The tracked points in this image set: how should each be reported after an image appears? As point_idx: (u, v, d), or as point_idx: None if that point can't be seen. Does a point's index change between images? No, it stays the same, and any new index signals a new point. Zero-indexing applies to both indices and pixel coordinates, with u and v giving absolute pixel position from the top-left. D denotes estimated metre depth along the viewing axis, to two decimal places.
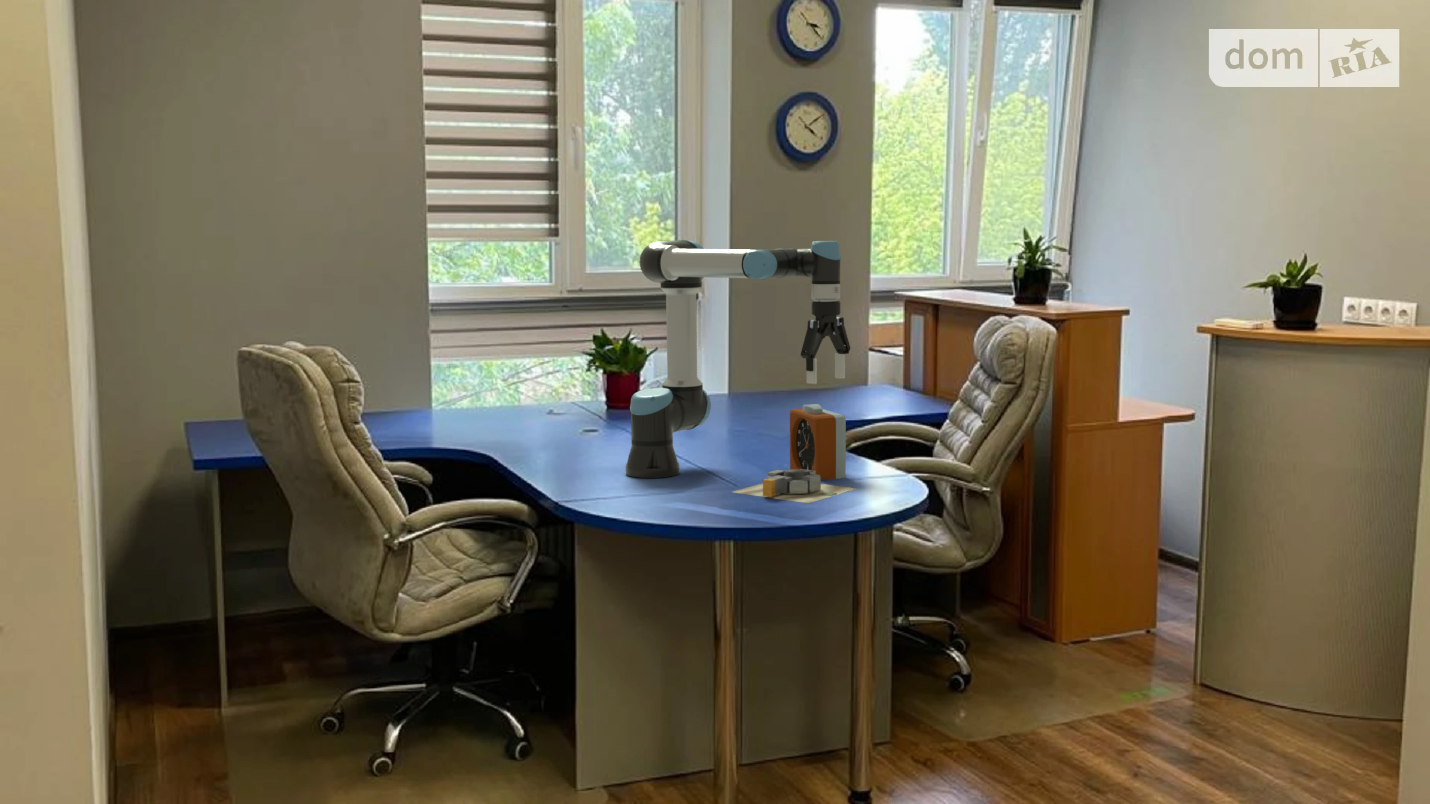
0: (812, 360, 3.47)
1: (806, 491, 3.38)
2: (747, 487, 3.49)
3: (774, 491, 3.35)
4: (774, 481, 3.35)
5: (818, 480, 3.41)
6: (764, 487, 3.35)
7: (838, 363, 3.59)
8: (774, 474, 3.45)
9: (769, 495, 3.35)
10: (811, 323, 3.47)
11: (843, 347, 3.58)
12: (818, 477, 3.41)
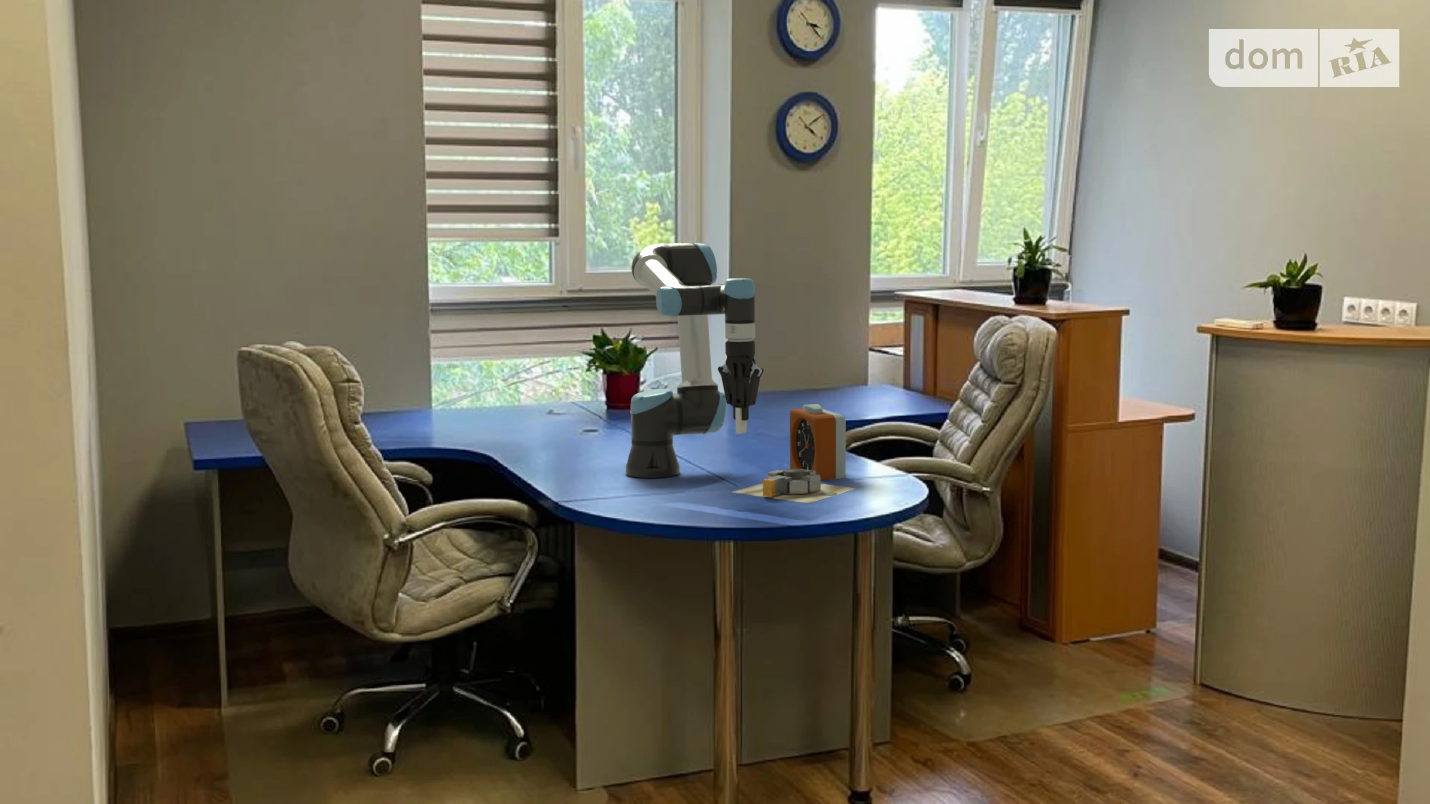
0: None
1: (806, 491, 3.38)
2: (747, 487, 3.49)
3: (774, 491, 3.35)
4: (774, 481, 3.35)
5: (818, 480, 3.41)
6: (764, 487, 3.35)
7: None
8: (774, 474, 3.45)
9: (769, 495, 3.35)
10: None
11: (741, 399, 3.38)
12: (818, 477, 3.41)
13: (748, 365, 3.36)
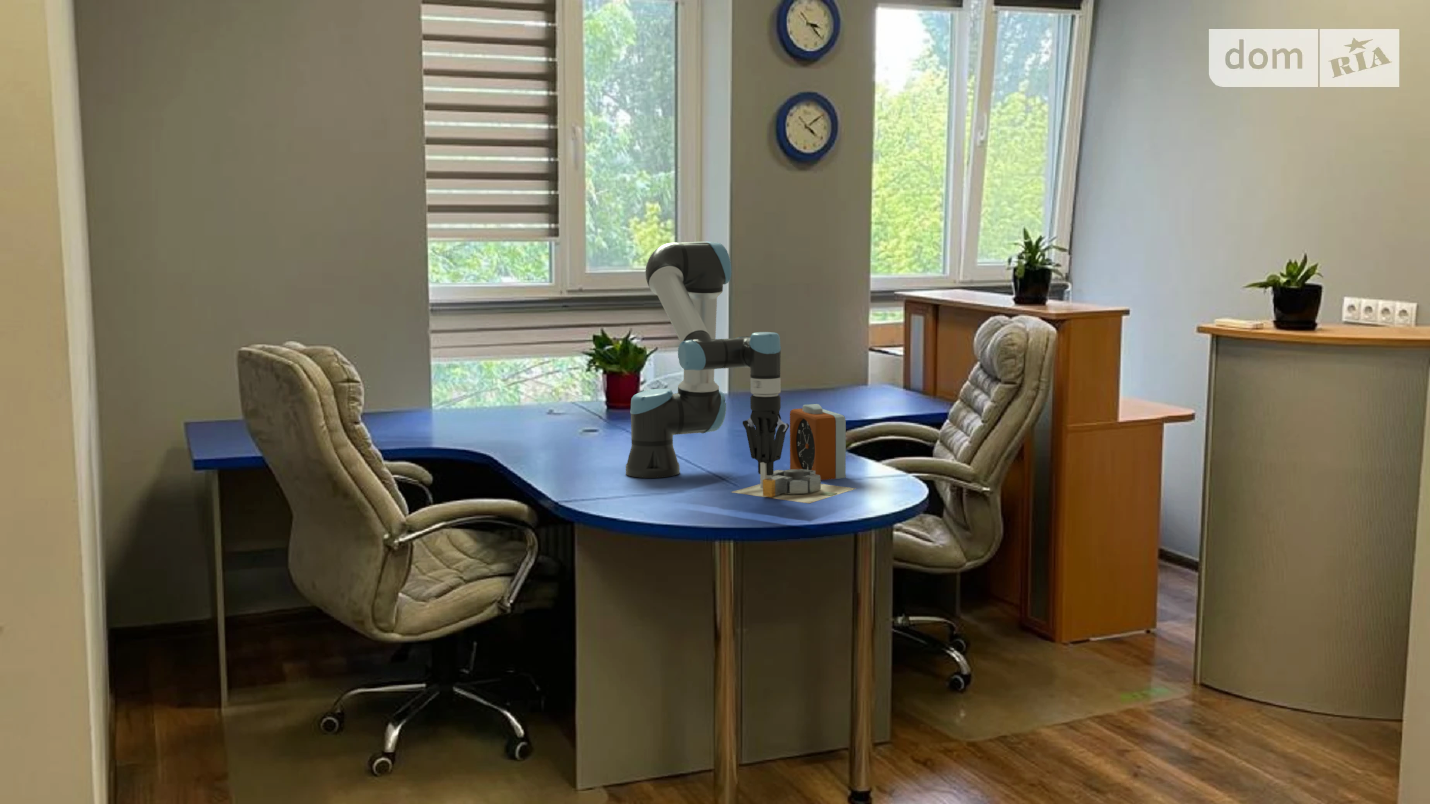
0: None
1: (806, 491, 3.38)
2: (747, 487, 3.49)
3: (774, 491, 3.35)
4: (774, 481, 3.35)
5: (818, 480, 3.41)
6: (764, 487, 3.35)
7: None
8: (774, 474, 3.45)
9: (769, 495, 3.35)
10: None
11: (766, 454, 3.35)
12: (818, 477, 3.41)
13: (773, 420, 3.33)
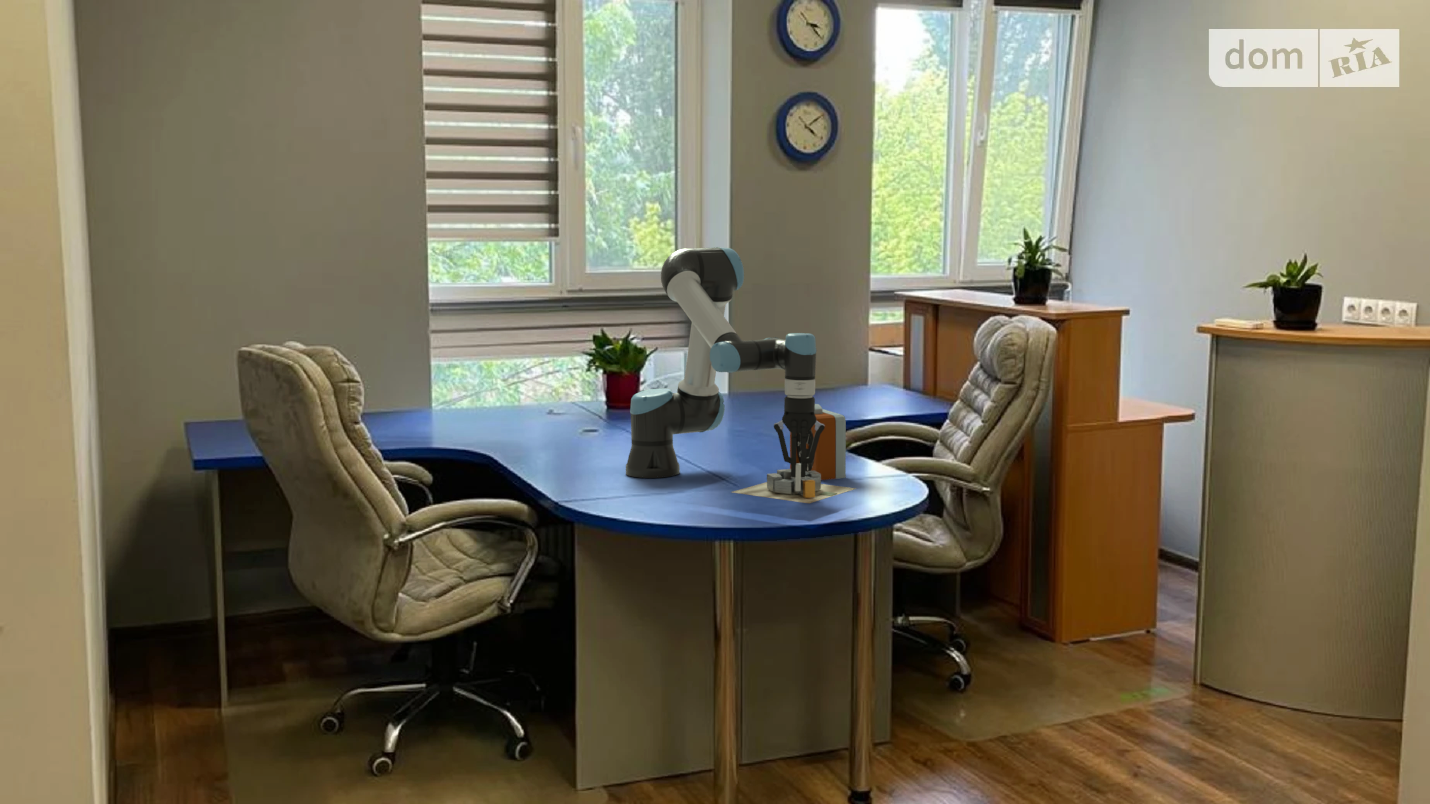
0: (794, 466, 3.33)
1: (820, 487, 3.43)
2: (747, 487, 3.49)
3: None
4: None
5: None
6: (807, 489, 3.33)
7: None
8: (780, 477, 3.41)
9: (812, 496, 3.33)
10: None
11: (803, 456, 3.32)
12: None
13: (812, 421, 3.31)
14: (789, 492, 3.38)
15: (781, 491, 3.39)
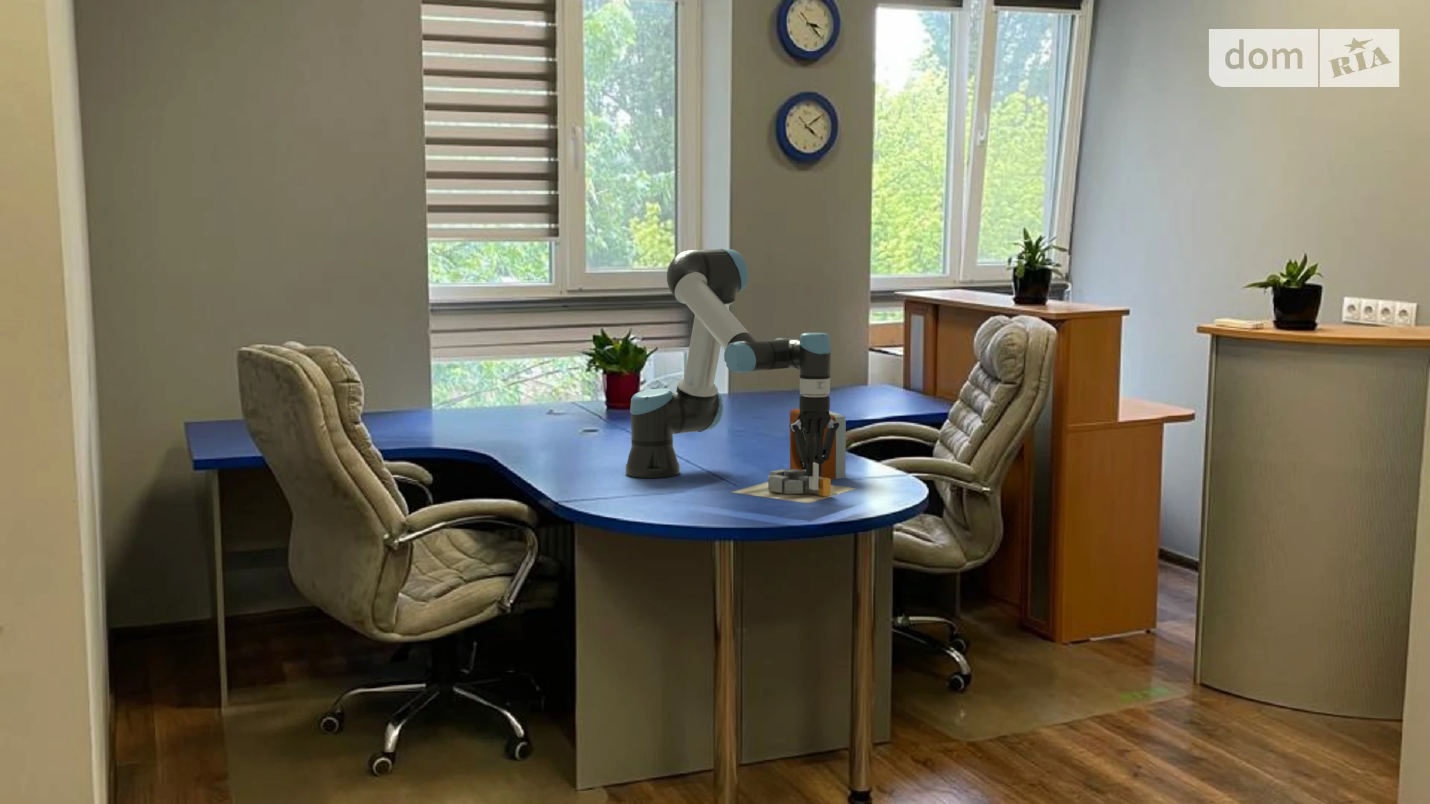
0: (811, 465, 3.34)
1: None
2: (747, 487, 3.49)
3: None
4: None
5: None
6: (824, 487, 3.35)
7: None
8: (787, 478, 3.39)
9: (829, 493, 3.36)
10: (792, 428, 3.32)
11: (820, 454, 3.34)
12: None
13: (828, 419, 3.34)
14: (800, 492, 3.38)
15: (792, 492, 3.38)
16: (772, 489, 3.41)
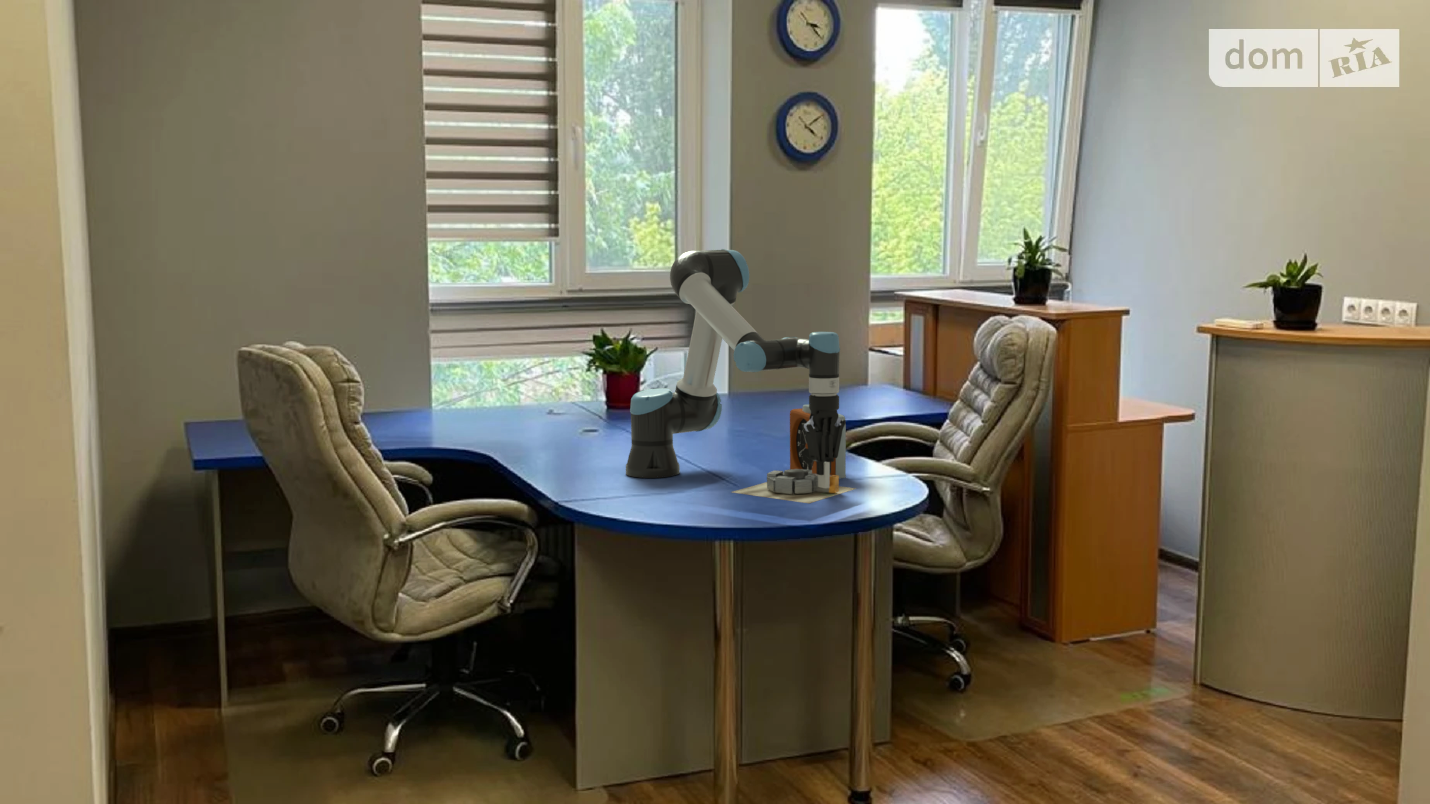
0: (822, 464, 3.36)
1: None
2: (747, 487, 3.49)
3: None
4: None
5: None
6: (835, 484, 3.38)
7: None
8: (795, 478, 3.39)
9: (837, 490, 3.40)
10: (805, 428, 3.32)
11: (830, 453, 3.37)
12: None
13: (836, 417, 3.37)
14: (810, 491, 3.39)
15: (801, 491, 3.38)
16: (779, 490, 3.39)
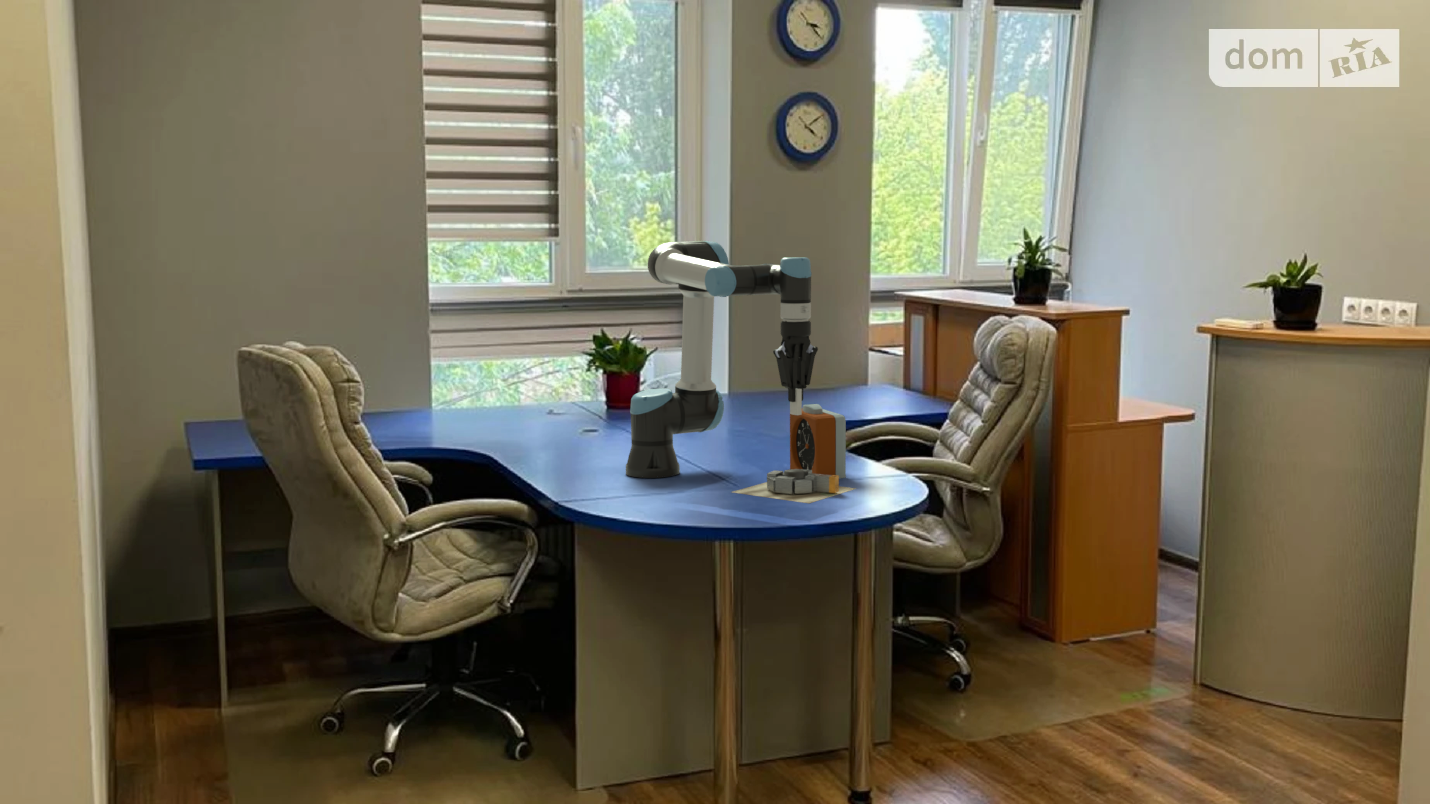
0: (794, 390, 3.33)
1: None
2: (747, 487, 3.49)
3: None
4: None
5: None
6: (835, 484, 3.38)
7: None
8: (795, 478, 3.39)
9: (837, 490, 3.40)
10: (777, 354, 3.30)
11: (802, 379, 3.34)
12: None
13: (808, 344, 3.34)
14: (810, 491, 3.39)
15: (801, 491, 3.38)
16: (779, 490, 3.39)
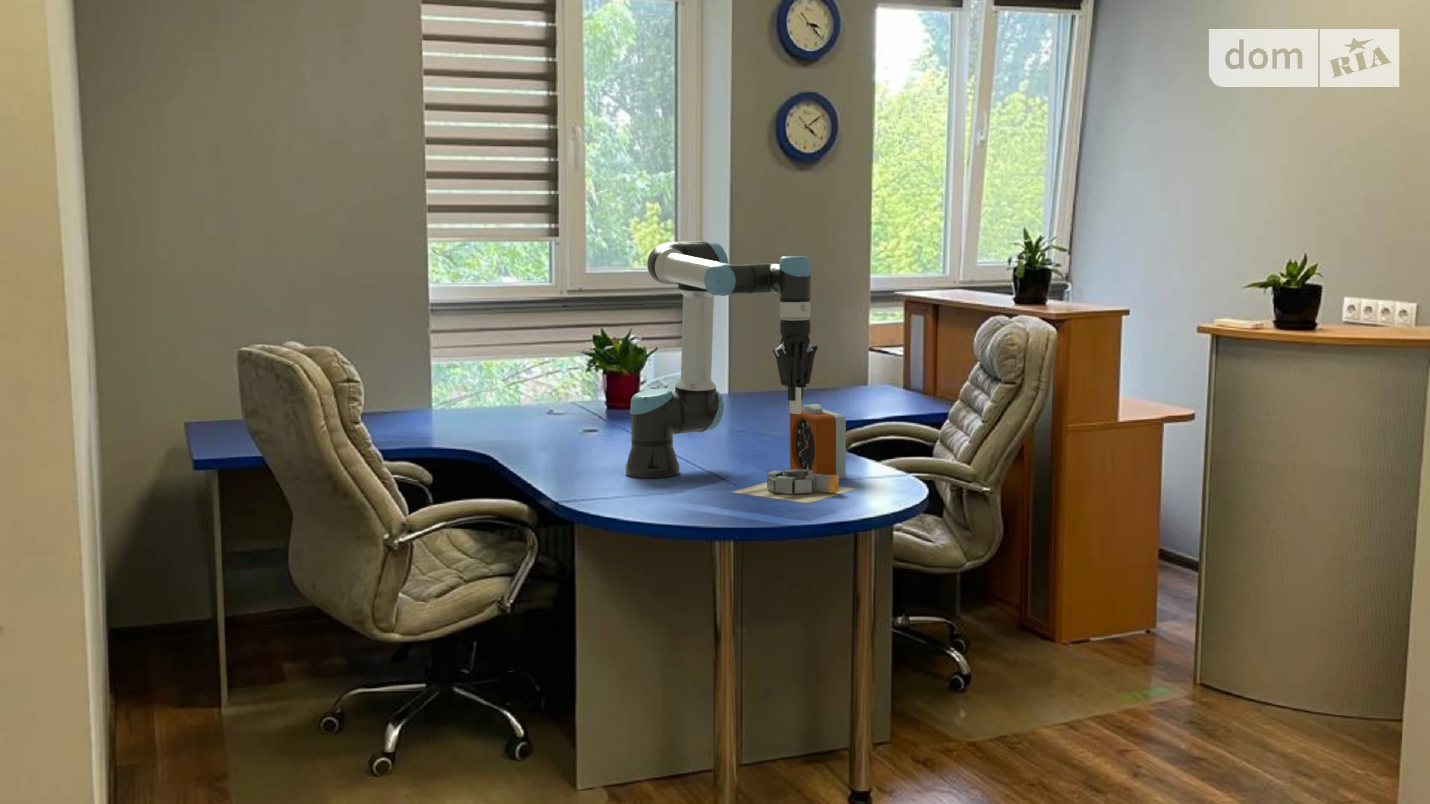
0: (794, 389, 3.33)
1: None
2: (747, 487, 3.49)
3: None
4: None
5: None
6: (835, 484, 3.38)
7: None
8: (795, 478, 3.39)
9: (837, 490, 3.40)
10: (776, 353, 3.30)
11: (802, 378, 3.34)
12: None
13: (808, 343, 3.34)
14: (810, 491, 3.39)
15: (801, 491, 3.38)
16: (779, 490, 3.39)
